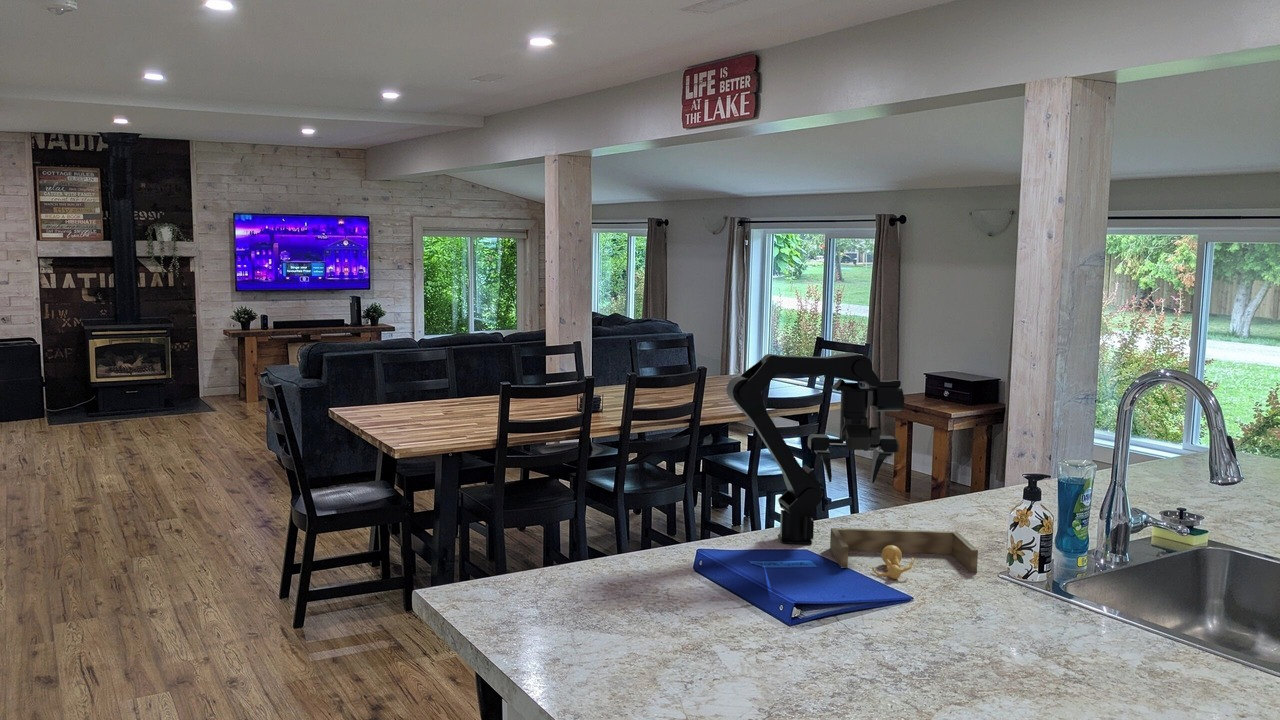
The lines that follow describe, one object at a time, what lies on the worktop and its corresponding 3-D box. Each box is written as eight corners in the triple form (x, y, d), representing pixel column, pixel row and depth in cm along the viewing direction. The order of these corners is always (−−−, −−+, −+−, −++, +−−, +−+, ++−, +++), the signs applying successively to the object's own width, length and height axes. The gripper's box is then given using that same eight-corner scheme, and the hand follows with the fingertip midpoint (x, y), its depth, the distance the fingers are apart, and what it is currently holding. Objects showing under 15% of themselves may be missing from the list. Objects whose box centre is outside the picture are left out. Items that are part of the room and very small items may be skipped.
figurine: (909, 539, 194) (908, 542, 183) (918, 569, 193) (918, 574, 181) (868, 550, 196) (865, 553, 185) (877, 579, 195) (874, 584, 183)
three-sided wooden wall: (841, 568, 190) (842, 546, 190) (830, 548, 204) (830, 528, 204) (976, 572, 189) (977, 550, 189) (956, 552, 203) (957, 531, 203)
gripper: (815, 415, 201) (813, 489, 202) (906, 417, 200) (903, 491, 201) (808, 408, 212) (806, 478, 213) (894, 410, 211) (891, 480, 213)
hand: (851, 482), depth 210 cm, fingers open, 9 cm apart
